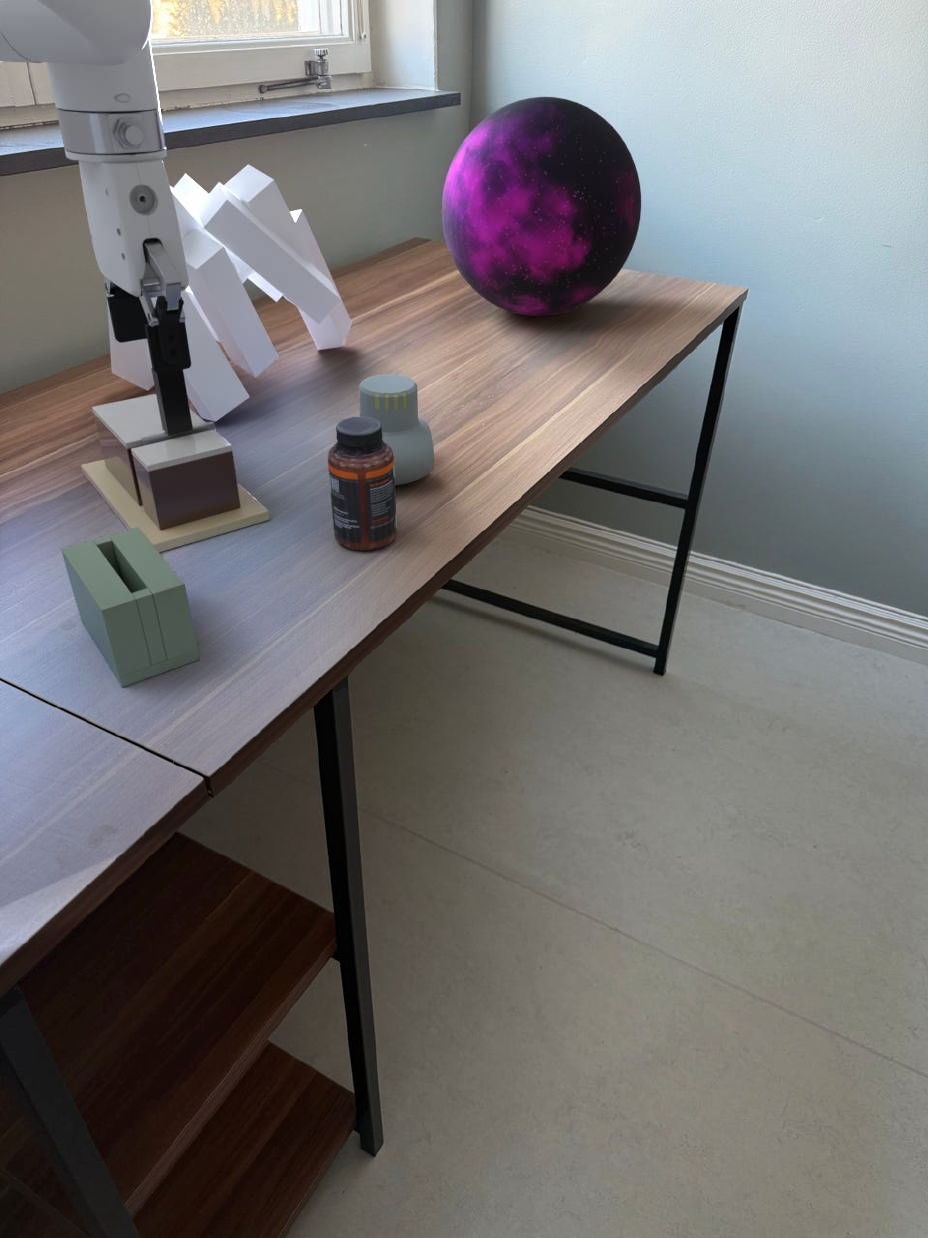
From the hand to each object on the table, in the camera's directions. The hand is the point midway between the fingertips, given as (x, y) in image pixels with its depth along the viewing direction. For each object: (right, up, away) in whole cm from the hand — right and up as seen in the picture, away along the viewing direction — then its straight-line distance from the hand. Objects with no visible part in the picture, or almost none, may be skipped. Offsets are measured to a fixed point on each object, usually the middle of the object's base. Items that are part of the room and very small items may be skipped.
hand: (152, 354), depth 78 cm
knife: (0, -11, +9) cm, 15 cm away
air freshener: (+20, -8, +16) cm, 27 cm away
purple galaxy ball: (+39, +26, +65) cm, 80 cm away
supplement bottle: (+18, -16, +5) cm, 25 cm away
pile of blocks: (-2, +8, +38) cm, 39 cm away
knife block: (+2, -25, -8) cm, 27 cm away
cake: (-2, -11, +11) cm, 16 cm away
